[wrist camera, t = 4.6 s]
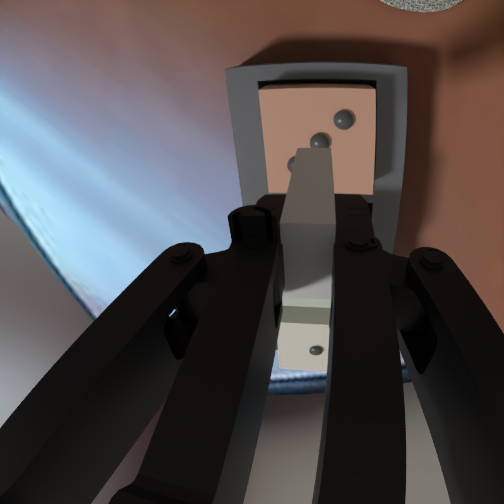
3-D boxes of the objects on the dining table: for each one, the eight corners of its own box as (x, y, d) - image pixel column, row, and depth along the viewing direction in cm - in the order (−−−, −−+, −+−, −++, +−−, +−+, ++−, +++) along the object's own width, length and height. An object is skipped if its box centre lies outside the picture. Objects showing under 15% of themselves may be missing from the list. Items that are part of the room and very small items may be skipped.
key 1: (284, 338, 34) (279, 369, 31) (282, 290, 30) (275, 323, 27) (349, 341, 32) (349, 373, 29) (357, 293, 28) (359, 327, 25)
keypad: (268, 322, 38) (262, 348, 35) (238, 65, 22) (224, 68, 19) (369, 326, 35) (370, 353, 32) (394, 64, 19) (407, 67, 16)
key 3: (276, 171, 25) (268, 193, 22) (268, 83, 21) (257, 90, 18) (366, 172, 23) (372, 195, 20) (366, 82, 19) (375, 89, 16)
